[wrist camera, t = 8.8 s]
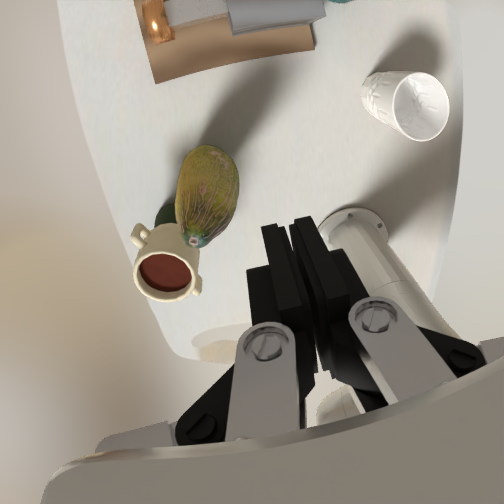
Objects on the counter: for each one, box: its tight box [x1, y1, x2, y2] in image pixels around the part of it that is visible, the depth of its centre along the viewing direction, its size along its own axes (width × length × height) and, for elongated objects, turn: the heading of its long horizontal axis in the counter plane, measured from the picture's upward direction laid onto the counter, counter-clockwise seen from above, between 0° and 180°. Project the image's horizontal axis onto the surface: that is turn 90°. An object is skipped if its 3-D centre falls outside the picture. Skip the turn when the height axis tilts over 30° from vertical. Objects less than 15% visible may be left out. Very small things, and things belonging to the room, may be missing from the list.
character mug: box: [130, 204, 202, 302], centre depth 39 cm, size 11×7×13 cm, turn 38°
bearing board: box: [134, 0, 326, 84], centre depth 25 cm, size 14×19×9 cm
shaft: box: [142, 0, 230, 45], centre depth 25 cm, size 6×16×6 cm, turn 102°
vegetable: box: [175, 145, 239, 249], centre depth 31 cm, size 6×6×20 cm
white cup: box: [361, 71, 450, 141], centre depth 32 cm, size 8×8×10 cm
